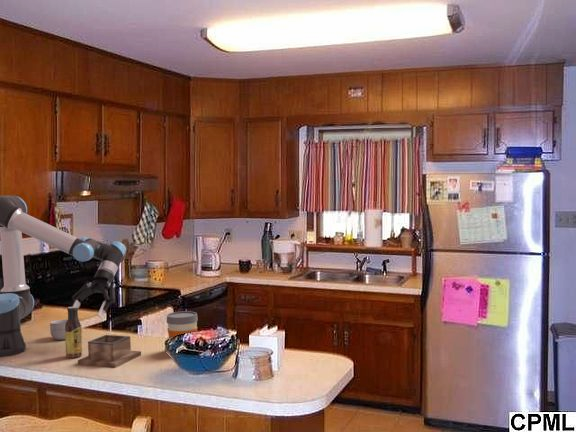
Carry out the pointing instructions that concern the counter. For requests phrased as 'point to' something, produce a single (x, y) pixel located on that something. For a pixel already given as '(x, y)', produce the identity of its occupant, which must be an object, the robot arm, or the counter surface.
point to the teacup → (58, 329)
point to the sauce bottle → (73, 334)
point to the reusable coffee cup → (181, 322)
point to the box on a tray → (109, 351)
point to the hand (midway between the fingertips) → (85, 316)
